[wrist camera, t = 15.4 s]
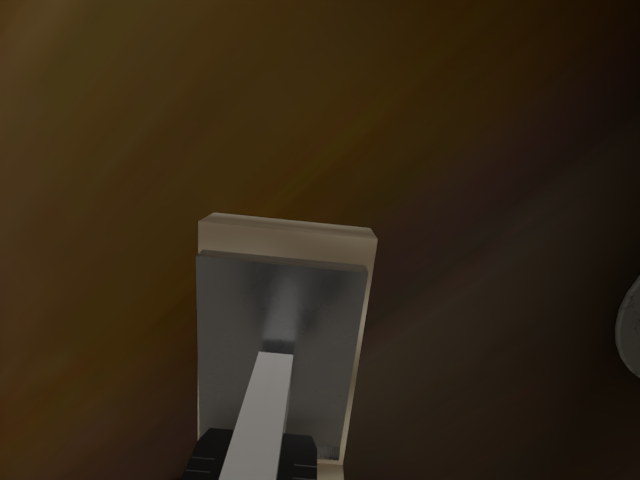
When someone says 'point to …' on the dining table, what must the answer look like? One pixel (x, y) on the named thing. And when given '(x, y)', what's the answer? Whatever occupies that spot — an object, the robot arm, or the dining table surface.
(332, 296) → the latch flap
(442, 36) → the dining table surface
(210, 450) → the robot arm
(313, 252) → the block
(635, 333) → the grey stone cylinder
